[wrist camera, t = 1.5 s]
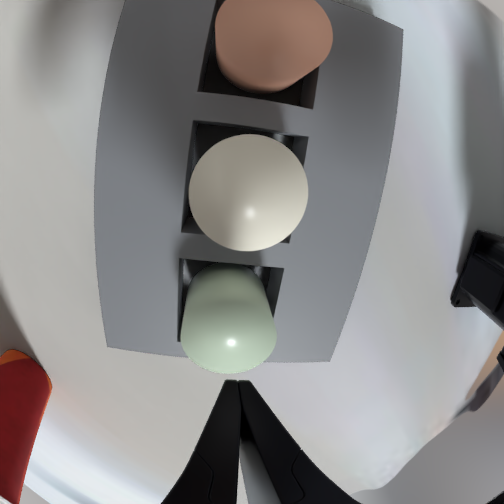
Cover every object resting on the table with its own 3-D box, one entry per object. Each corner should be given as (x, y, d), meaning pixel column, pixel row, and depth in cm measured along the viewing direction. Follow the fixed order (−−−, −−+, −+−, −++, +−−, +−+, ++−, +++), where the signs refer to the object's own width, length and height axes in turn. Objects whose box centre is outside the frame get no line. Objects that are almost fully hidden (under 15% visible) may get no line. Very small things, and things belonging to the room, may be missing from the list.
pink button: (309, 27, 10) (337, -1, 7) (299, 101, 12) (326, 90, 8) (224, 12, 9) (226, -24, 6) (209, 87, 11) (205, 69, 8)
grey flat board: (379, 40, 12) (402, 29, 9) (318, 336, 18) (329, 361, 16) (144, 0, 10) (132, -20, 7) (118, 321, 16) (107, 346, 14)
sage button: (271, 265, 14) (285, 303, 11) (258, 330, 16) (267, 375, 13) (189, 258, 14) (181, 295, 11) (186, 325, 15) (180, 370, 12)
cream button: (292, 143, 12) (317, 145, 9) (278, 227, 14) (296, 256, 10) (202, 131, 12) (196, 127, 8) (192, 218, 13) (184, 245, 10)
